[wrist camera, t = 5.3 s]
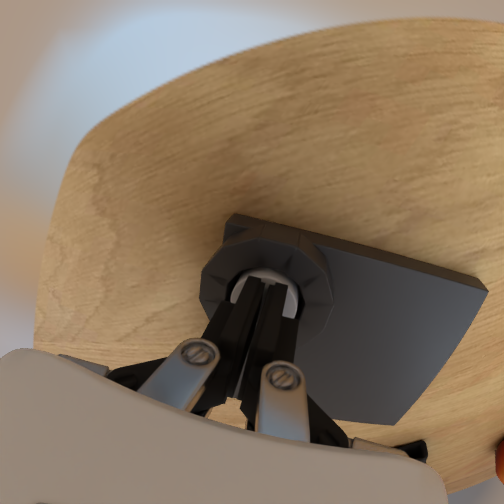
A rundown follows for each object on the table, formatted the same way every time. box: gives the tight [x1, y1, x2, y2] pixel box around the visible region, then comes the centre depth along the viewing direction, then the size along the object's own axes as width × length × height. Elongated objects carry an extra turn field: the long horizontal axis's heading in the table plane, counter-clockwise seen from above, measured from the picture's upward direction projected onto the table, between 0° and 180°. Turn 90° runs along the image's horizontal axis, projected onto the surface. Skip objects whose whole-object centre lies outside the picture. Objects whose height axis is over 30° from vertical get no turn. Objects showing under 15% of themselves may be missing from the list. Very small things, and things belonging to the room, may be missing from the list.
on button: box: [231, 266, 299, 329], centre depth 13 cm, size 3×3×2 cm
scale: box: [199, 214, 489, 426], centre depth 14 cm, size 14×12×3 cm
